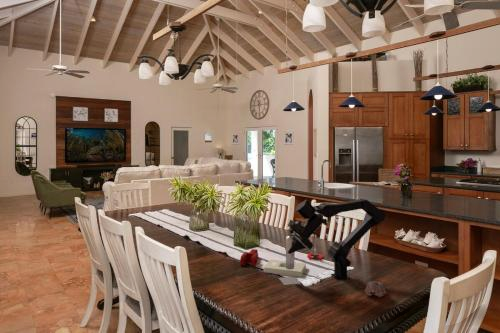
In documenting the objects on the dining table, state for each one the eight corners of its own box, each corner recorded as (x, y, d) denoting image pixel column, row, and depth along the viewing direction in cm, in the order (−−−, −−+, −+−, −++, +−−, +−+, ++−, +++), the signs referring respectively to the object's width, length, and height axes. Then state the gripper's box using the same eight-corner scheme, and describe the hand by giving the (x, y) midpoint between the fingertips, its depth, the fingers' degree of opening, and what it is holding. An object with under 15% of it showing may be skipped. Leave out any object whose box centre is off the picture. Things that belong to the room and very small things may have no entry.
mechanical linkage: (254, 268, 174) (254, 258, 174) (240, 266, 176) (240, 256, 176) (261, 257, 189) (261, 248, 189) (249, 256, 191) (249, 247, 191)
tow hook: (307, 255, 195) (307, 259, 186) (307, 231, 194) (307, 235, 185) (322, 255, 193) (323, 260, 184) (323, 232, 193) (323, 236, 184)
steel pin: (295, 269, 155) (295, 237, 154) (287, 269, 154) (287, 238, 153) (292, 266, 159) (292, 235, 158) (284, 266, 158) (284, 235, 157)
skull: (375, 287, 150) (375, 273, 149) (392, 293, 144) (393, 278, 144) (361, 296, 141) (361, 281, 141) (379, 302, 136) (380, 287, 135)
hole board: (305, 268, 173) (305, 263, 172) (301, 277, 161) (301, 271, 161) (270, 264, 178) (270, 259, 178) (263, 272, 167) (263, 267, 167)
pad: (301, 283, 154) (301, 283, 154) (284, 285, 152) (284, 284, 152) (295, 276, 162) (295, 276, 162) (278, 278, 160) (278, 278, 160)
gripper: (292, 209, 165) (269, 234, 163) (306, 218, 146) (280, 245, 145) (308, 225, 167) (285, 250, 165) (323, 235, 148) (298, 263, 147)
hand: (287, 251), depth 156 cm, fingers closed on steel pin, 4 cm apart
